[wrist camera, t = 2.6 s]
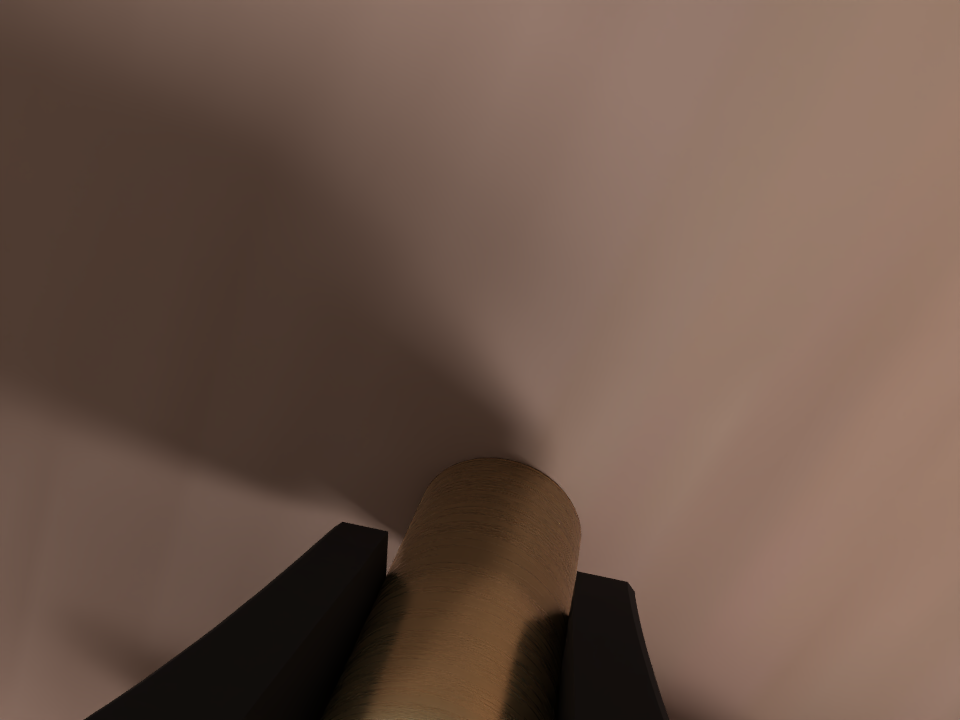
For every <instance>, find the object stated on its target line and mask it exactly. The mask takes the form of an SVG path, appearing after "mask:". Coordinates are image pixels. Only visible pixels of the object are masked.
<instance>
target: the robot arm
mask: <svg viewBox="0 0 960 720" xmlns="http://www.w3.org/2000/svg"><path fill="white" fill-rule="evenodd" d="M387 546H388V531H383V530H378V529H374V528H369V527H364V526H359V525H355V524H350V523H345V522H342V523H340V524H339V525H337V526H335V527H334V528H333V529H332V530H330V531H329V532H328V533H327V534H326V535H325V536H324V537H322V538H321V539H320V540H319V541H318V542H317V543H316V544H315V545H313V546H312V547H311V548H310V549H309V550H308V551H307V552H305V553H304V554H303V555H302V556H301V557H300V558H299V559H297V560H296V561H295V562H294V563H293V564H292V565H290V566H289V567H288V568H287V569H286V570H285V571H283V572H282V573H281V574H280V575H279V576H277V577H276V578H275V579H274V580H273V581H271V582H270V583H269V584H268V585H267V586H266V587H264V588H263V589H262V590H261V591H260V592H258V593H257V594H256V595H255V596H253V597H252V598H251V599H250V600H248V601H247V602H246V603H245V604H243V605H242V606H241V607H240V608H238V609H237V610H236V611H235V612H233V613H232V614H231V615H230V616H228V617H227V618H226V619H225V620H223V621H222V622H221V623H220V624H218V625H217V626H216V627H215V628H213V629H212V630H211V631H209V632H208V633H207V634H205V635H204V636H203V637H202V638H200V639H199V640H198V641H196V642H195V643H193V644H192V645H191V646H189V647H188V648H187V649H185V650H184V651H182V652H181V653H180V654H178V655H177V656H176V657H174V658H173V659H171V660H170V661H169V662H167V663H166V664H165V665H163V666H162V667H160V668H159V669H158V670H156V671H155V672H154V673H152V674H151V675H149V676H148V677H147V678H145V679H144V680H143V681H141V682H140V683H138V684H137V685H135V686H134V687H132V688H131V689H129V690H128V691H126V692H125V693H124V694H122V695H121V696H119V697H118V698H116V699H115V700H113V701H112V702H110V703H109V704H107V705H106V706H104V707H103V708H101V709H100V710H98V711H96V712H95V713H93V714H92V715H90V716H89V717H87V718H86V719H84V720H321V718H322V716H323V714H324V711H325V709H326V707H327V705H328V703H329V700H330V698H331V696H332V694H333V692H334V690H335V687H336V685H337V683H338V681H339V679H340V677H341V674H342V672H343V670H344V668H345V666H346V663H347V661H348V659H349V657H350V655H351V653H352V650H353V648H354V646H355V644H356V642H357V639H358V637H359V635H360V633H361V631H362V629H363V626H364V624H365V622H366V620H367V618H368V615H369V613H370V611H371V609H372V607H373V605H374V602H375V600H376V598H377V596H378V594H379V591H380V589H381V587H382V585H383V583H384V581H385V578H386V566H387ZM556 720H669V717H668V714H667V712H666V709H665V706H664V703H663V700H662V697H661V694H660V691H659V688H658V685H657V682H656V679H655V675H654V672H653V668H652V665H651V662H650V658H649V655H648V651H647V648H646V644H645V640H644V636H643V632H642V628H641V624H640V620H639V615H638V610H637V605H636V599H635V591H634V590H633V589H632V587H631V586H630V585H629V583H628V582H625V581H620V580H616V579H611V578H606V577H602V576H597V575H592V574H587V573H583V572H578V571H577V575H576V580H575V585H574V590H573V596H572V601H571V606H570V611H569V616H568V623H567V631H566V638H565V645H564V652H563V659H562V667H561V674H560V681H559V694H558V708H557V717H556Z"/></svg>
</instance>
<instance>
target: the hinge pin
mask: <svg viewBox="0 0 960 720" xmlns="http://www.w3.org/2000/svg"><path fill="white" fill-rule="evenodd" d="M580 541H581V527H580V522H579V518H578V515H577V513H576V510H575V508H574V506H573V504H572V502H571V501H570V499H569V498H568V496H567V495H566V494H565V492H564V491H563V490H562V489H561V488H560V487H559V486H558V485H557V484H556V483H555V482H553V481H552V480H551V479H550V478H548V477H547V476H545V475H544V474H542V473H541V472H539V471H537V470H535V469H533V468H531V467H529V466H527V465H524V464H521V463H518V462H514V461H510V460H505V459H498V458H480V459H473V460H468V461H464V462H461V463H458V464H456V465H454V466H452V467H450V468H448V469H446V470H445V471H443V472H442V473H440V474H439V475H438V476H437V477H436V478H435V479H434V480H433V481H432V482H431V484H430V485H429V486H428V488H427V490H426V492H425V493H424V495H423V498H422V500H421V502H420V504H419V506H418V509H417V511H416V513H415V515H414V517H413V519H412V522H411V524H410V526H409V528H408V530H407V533H406V535H405V537H404V539H403V541H402V543H401V546H400V548H399V550H398V552H397V554H396V557H395V559H394V561H393V563H392V565H391V567H390V570H389V572H388V574H387V576H386V578H385V581H384V583H383V585H382V587H381V589H380V591H379V594H378V596H377V598H376V600H375V602H374V605H373V607H372V609H371V611H370V613H369V615H368V618H367V620H366V622H365V624H364V626H363V629H362V631H361V633H360V635H359V637H358V639H357V642H356V644H355V646H354V648H353V650H352V653H351V655H350V657H349V659H348V661H347V663H346V666H345V668H344V670H343V672H342V674H341V677H340V679H339V681H338V683H337V685H336V687H335V690H334V692H333V694H332V696H331V698H330V700H329V703H328V705H327V707H326V709H325V711H324V714H323V716H322V718H321V720H556V717H557V708H558V694H559V681H560V674H561V667H562V659H563V652H564V645H565V638H566V631H567V623H568V616H569V611H570V606H571V601H572V596H573V590H574V585H575V579H576V571H577V564H578V557H579V549H580Z"/></svg>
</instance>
